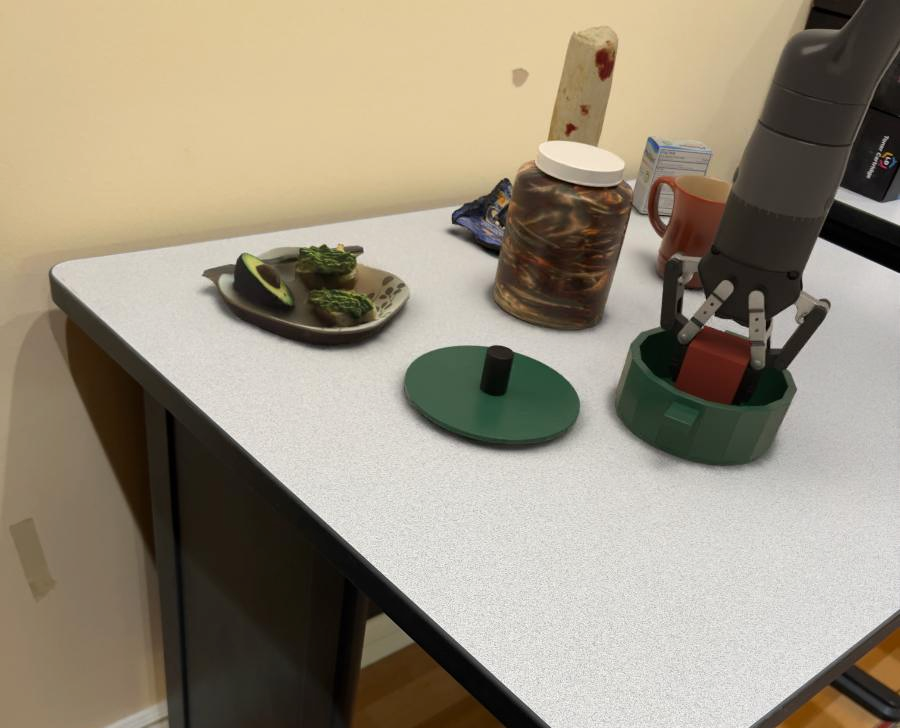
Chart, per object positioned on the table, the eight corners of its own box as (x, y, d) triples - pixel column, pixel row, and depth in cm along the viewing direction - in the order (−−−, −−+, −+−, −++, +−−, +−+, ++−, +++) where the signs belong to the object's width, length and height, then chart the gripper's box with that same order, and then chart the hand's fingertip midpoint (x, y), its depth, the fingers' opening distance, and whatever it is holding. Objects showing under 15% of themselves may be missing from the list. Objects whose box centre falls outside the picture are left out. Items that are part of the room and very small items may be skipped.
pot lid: (602, 396, 82) (616, 350, 79) (534, 473, 71) (547, 423, 68) (454, 339, 86) (462, 292, 83) (369, 403, 75) (374, 353, 72)
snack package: (567, 256, 106) (523, 214, 113) (573, 202, 101) (527, 162, 108) (475, 276, 102) (436, 231, 110) (477, 221, 98) (436, 179, 105)
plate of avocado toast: (294, 240, 97) (295, 197, 94) (440, 291, 93) (446, 247, 90) (182, 300, 83) (179, 252, 80) (347, 362, 80) (351, 314, 76)
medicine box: (680, 206, 125) (701, 140, 119) (693, 218, 122) (715, 151, 116) (629, 202, 123) (647, 134, 117) (640, 214, 120) (660, 146, 114)
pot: (791, 404, 86) (815, 353, 83) (742, 502, 73) (768, 446, 69) (652, 352, 90) (669, 301, 86) (580, 436, 76) (596, 379, 73)
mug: (733, 286, 106) (766, 197, 99) (691, 300, 101) (723, 208, 94) (655, 247, 112) (682, 161, 105) (612, 258, 107) (636, 169, 100)
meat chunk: (734, 403, 81) (759, 343, 77) (721, 426, 78) (745, 365, 74) (683, 384, 83) (704, 324, 78) (667, 406, 79) (689, 345, 75)
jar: (575, 280, 100) (611, 137, 90) (619, 330, 93) (663, 180, 82) (478, 279, 97) (504, 131, 87) (515, 331, 89) (548, 175, 79)
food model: (582, 215, 116) (625, 40, 103) (532, 205, 116) (568, 28, 103) (585, 191, 123) (626, 25, 110) (539, 181, 123) (573, 14, 110)
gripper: (881, 209, 68) (793, 401, 80) (705, 157, 72) (645, 348, 84) (868, 236, 63) (775, 438, 75) (678, 178, 67) (618, 379, 78)
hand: (707, 389), depth 79 cm, fingers closed on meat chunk, 5 cm apart
